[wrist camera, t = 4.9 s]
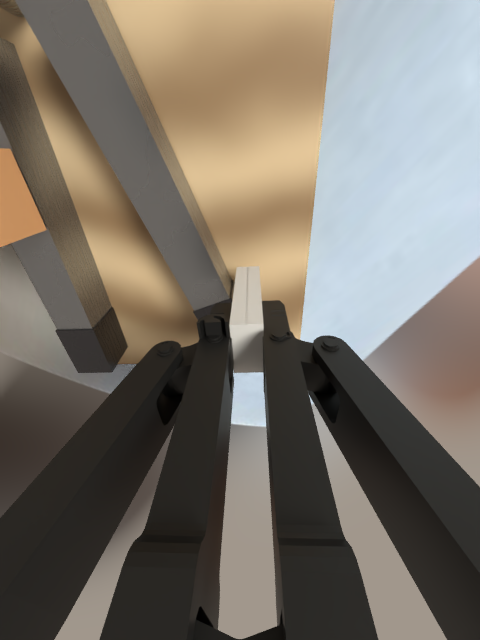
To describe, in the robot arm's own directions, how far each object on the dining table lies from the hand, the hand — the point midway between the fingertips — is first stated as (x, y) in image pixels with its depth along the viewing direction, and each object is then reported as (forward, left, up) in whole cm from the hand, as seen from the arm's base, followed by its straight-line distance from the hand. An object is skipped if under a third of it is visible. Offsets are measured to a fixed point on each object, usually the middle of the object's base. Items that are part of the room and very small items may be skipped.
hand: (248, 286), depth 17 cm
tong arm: (-4, -4, -2) cm, 6 cm away
